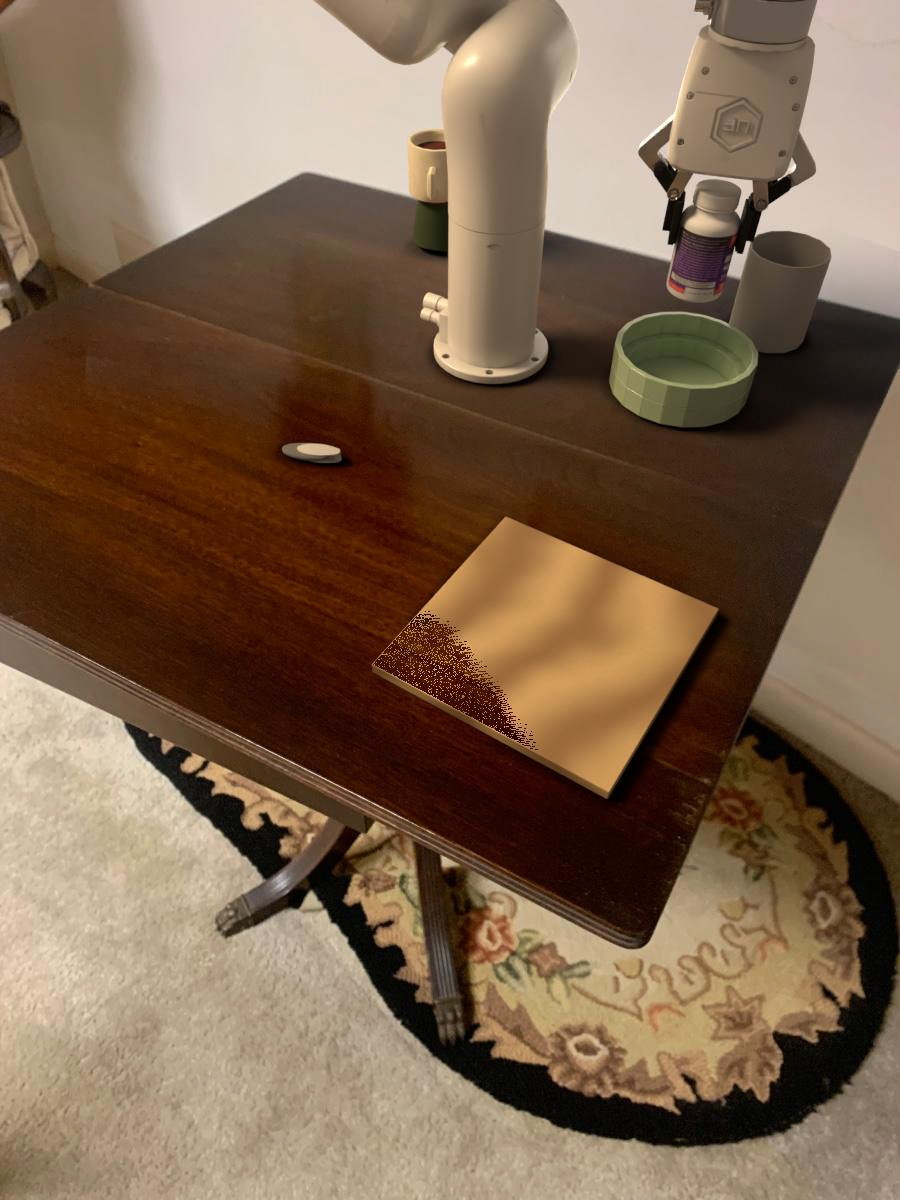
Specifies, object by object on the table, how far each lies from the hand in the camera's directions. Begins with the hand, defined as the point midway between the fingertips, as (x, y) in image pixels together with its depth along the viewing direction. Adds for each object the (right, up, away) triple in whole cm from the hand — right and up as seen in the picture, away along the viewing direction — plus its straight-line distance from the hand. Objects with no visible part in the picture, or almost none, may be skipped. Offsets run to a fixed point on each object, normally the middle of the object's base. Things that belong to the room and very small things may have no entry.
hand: (705, 240), depth 82 cm
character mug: (-25, +13, +34) cm, 44 cm away
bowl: (0, -11, +12) cm, 16 cm away
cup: (+12, -3, +20) cm, 23 cm away
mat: (-16, -37, -12) cm, 42 cm away
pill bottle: (0, -3, +4) cm, 5 cm away
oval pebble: (-37, -19, +4) cm, 42 cm away
